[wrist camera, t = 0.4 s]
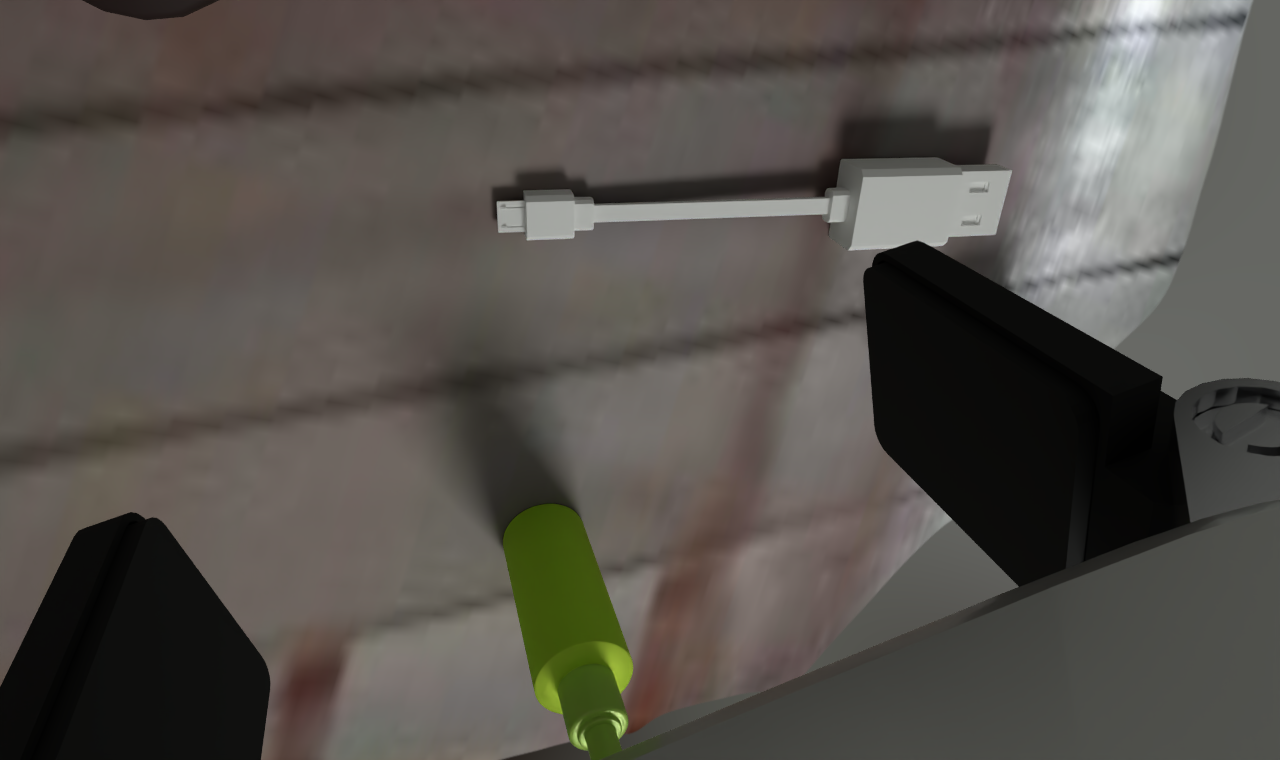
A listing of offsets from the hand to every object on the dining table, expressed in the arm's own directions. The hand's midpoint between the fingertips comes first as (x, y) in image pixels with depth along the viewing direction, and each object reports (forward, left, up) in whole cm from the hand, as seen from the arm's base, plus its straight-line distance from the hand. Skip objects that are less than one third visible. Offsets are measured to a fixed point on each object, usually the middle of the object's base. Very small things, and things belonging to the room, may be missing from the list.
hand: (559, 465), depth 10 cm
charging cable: (+20, +8, -37) cm, 43 cm away
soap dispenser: (+26, -19, -36) cm, 49 cm away
